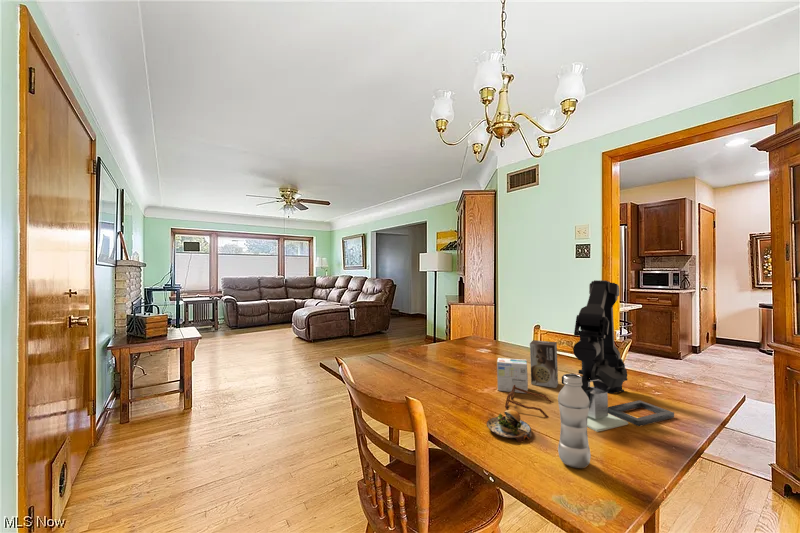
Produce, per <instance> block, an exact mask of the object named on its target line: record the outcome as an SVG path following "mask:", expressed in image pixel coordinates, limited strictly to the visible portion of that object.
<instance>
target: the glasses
mask: <svg viewBox="0 0 800 533" xmlns="http://www.w3.org/2000/svg"><path fill="white" fill-rule="evenodd" d="M515 389H516V390H519V391H522V392H525V393H524V394H528V395H531V396H535V397H536V396H537V397H542V398H544V399H545V400H546V401H548V403H550V404H551V403H552V404H553V403H554V401H552V400H551V399H550V398H549V397H548V396H546V395H544V394H541V393H534V392H531V391H525V390H522V389H519V388H517V387H515V385H514V386H513V388H512V391H511V392H508V394H507V396H506V400H505V405H504V407H505V408H506V409H507V408H508V407H509V404H510V403H511V404H514V405H516V404H517V405H516V406H519V407H521V408H524V409H526V410H537V411H539V412H540V413H541V414H543V416H544V417H545V418H550V417H549V415H548V414H547V413H546V412H545V411H544V410H543V409H542V408H539V407H537V406H528V405H525V404H523V403H519V402H516V401H514V400H512V399H513V398H514V396H515V393H516V392H515ZM513 390H514V391H513Z"/></svg>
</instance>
